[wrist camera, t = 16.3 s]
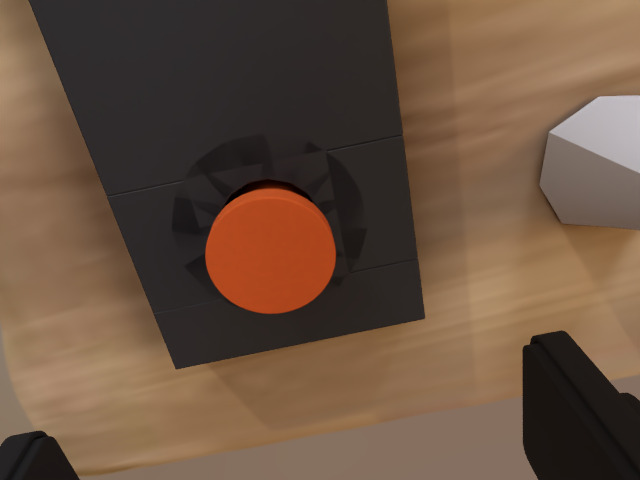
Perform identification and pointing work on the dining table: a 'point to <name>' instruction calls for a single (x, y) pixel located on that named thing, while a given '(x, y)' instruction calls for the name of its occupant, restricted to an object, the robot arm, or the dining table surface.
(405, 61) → the dining table surface
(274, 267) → the stopper
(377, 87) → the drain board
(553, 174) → the flask
